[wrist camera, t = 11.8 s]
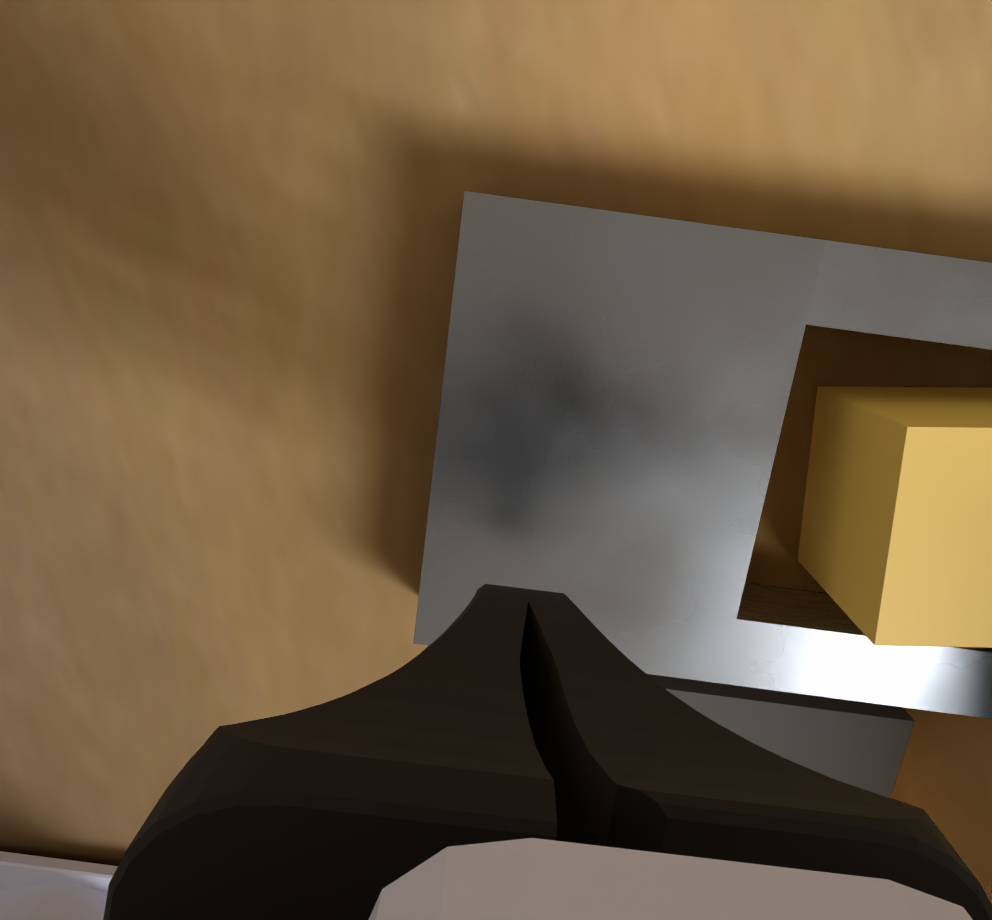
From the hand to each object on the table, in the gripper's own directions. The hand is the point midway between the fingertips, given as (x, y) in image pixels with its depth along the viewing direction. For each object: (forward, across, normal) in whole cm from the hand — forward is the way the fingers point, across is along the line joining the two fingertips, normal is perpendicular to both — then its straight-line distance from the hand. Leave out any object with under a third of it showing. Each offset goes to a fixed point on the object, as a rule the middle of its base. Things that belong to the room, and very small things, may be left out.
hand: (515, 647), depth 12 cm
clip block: (+4, -6, -2) cm, 8 cm away
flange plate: (+6, -5, -2) cm, 8 cm away
